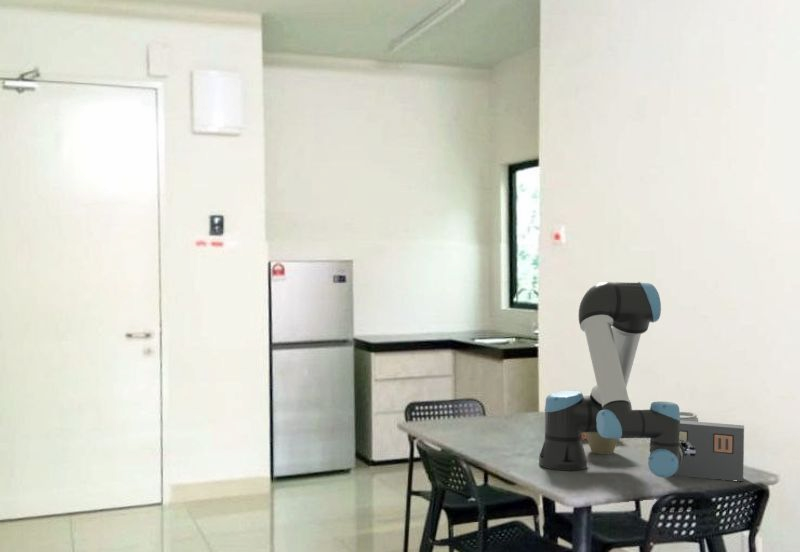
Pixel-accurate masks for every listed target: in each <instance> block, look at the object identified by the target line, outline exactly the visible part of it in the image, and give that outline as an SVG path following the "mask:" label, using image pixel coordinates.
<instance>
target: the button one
mask: <svg viewBox="0 0 800 552" xmlns="http://www.w3.org/2000/svg"><path fill="white" fill-rule="evenodd" d="M679 436H681V440H684V441H687V438H688V431H680V433H679Z"/></svg>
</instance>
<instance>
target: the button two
mask: <svg viewBox="0 0 800 552" xmlns="http://www.w3.org/2000/svg"><path fill="white" fill-rule="evenodd" d="M714 451H716V452H727V453H732V452H733V435H726V434H715V438H714Z"/></svg>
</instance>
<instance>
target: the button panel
mask: <svg viewBox="0 0 800 552" xmlns="http://www.w3.org/2000/svg"><path fill="white" fill-rule="evenodd" d="M680 431H688V438H687V441H689V442H690V444H691V445H692V446H694V447H695V456H691V455H688V454H687V455H686V456H684V458H683V460H682V462H681V463H680V465H679V468H678V470H677V472H676V473H675V474H673V475H672V476H680V477H689V478H699V479H707V478H708V480H716V479H721V480H720V481H725V480H737V481H743V482H744V463H745V462H744V461H745V460H744V457H745V456H744V454H745V447H744V446H745V425H743V424H730V423H719V422H706V421H698V422H696V421H684V420H680ZM715 434H726V435H733V452H732V453H727V452H716V451H714V438H715Z"/></svg>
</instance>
